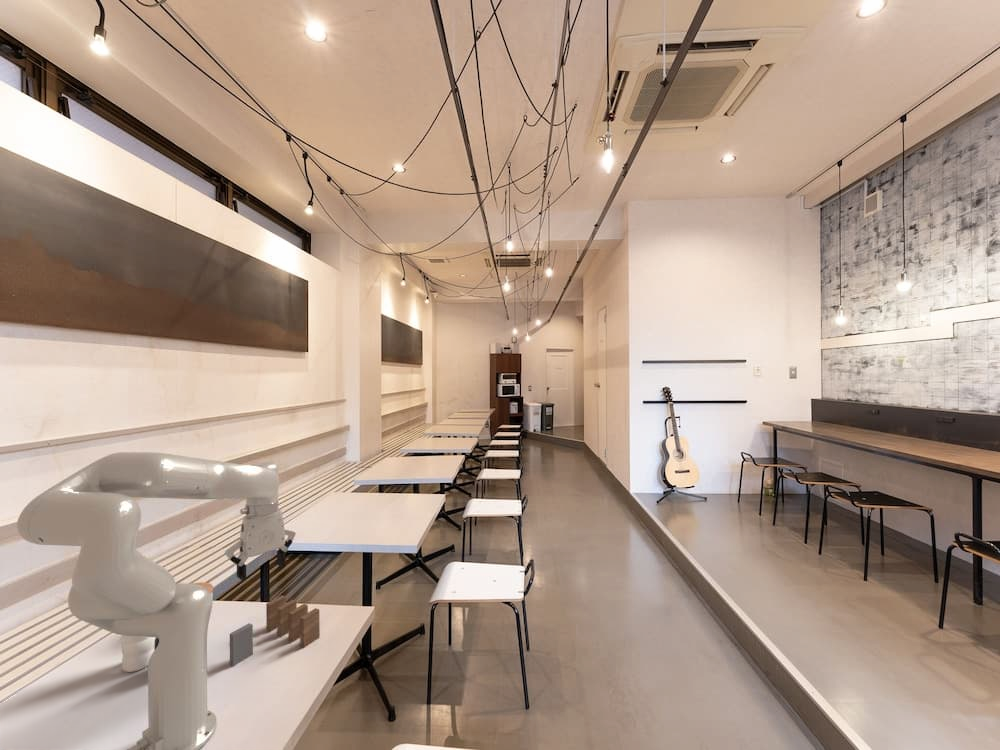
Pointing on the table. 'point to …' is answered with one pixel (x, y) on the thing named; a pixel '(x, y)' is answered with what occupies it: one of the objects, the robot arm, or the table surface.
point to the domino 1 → (241, 644)
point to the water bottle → (136, 652)
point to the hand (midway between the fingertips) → (262, 572)
